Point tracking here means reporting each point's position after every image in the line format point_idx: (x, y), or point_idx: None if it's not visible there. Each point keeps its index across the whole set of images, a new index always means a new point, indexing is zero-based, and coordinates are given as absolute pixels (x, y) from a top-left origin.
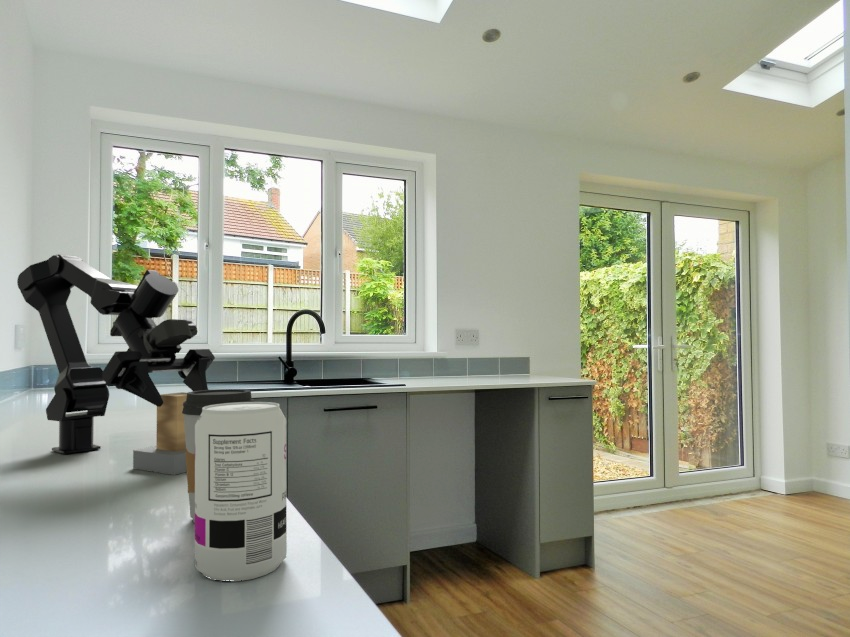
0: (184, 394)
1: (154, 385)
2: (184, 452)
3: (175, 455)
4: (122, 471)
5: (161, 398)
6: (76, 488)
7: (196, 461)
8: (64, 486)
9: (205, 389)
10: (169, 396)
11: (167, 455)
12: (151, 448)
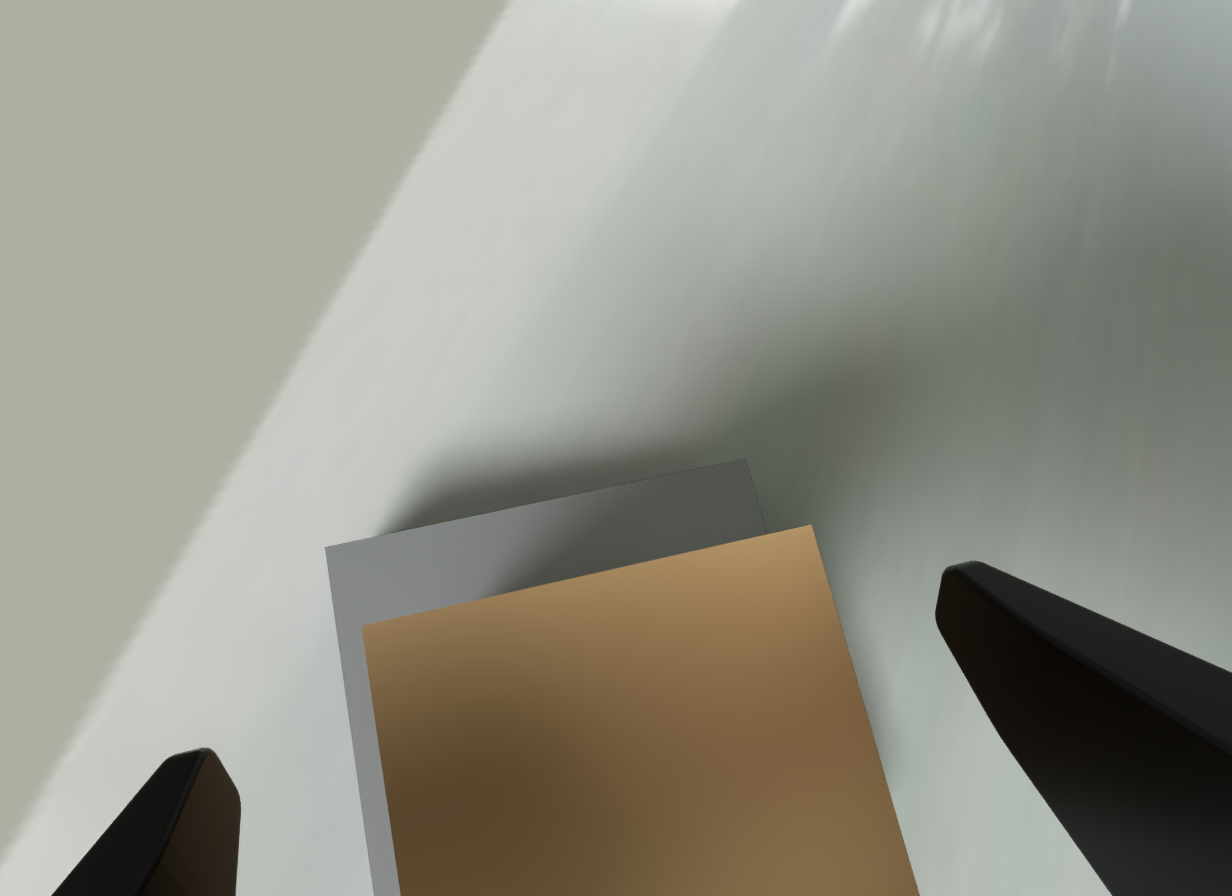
0: (623, 693)
1: (1216, 729)
2: (653, 507)
3: (735, 461)
4: None
5: (991, 590)
6: (1153, 594)
7: None
8: None
9: (124, 869)
10: (853, 692)
11: (761, 520)
12: None
